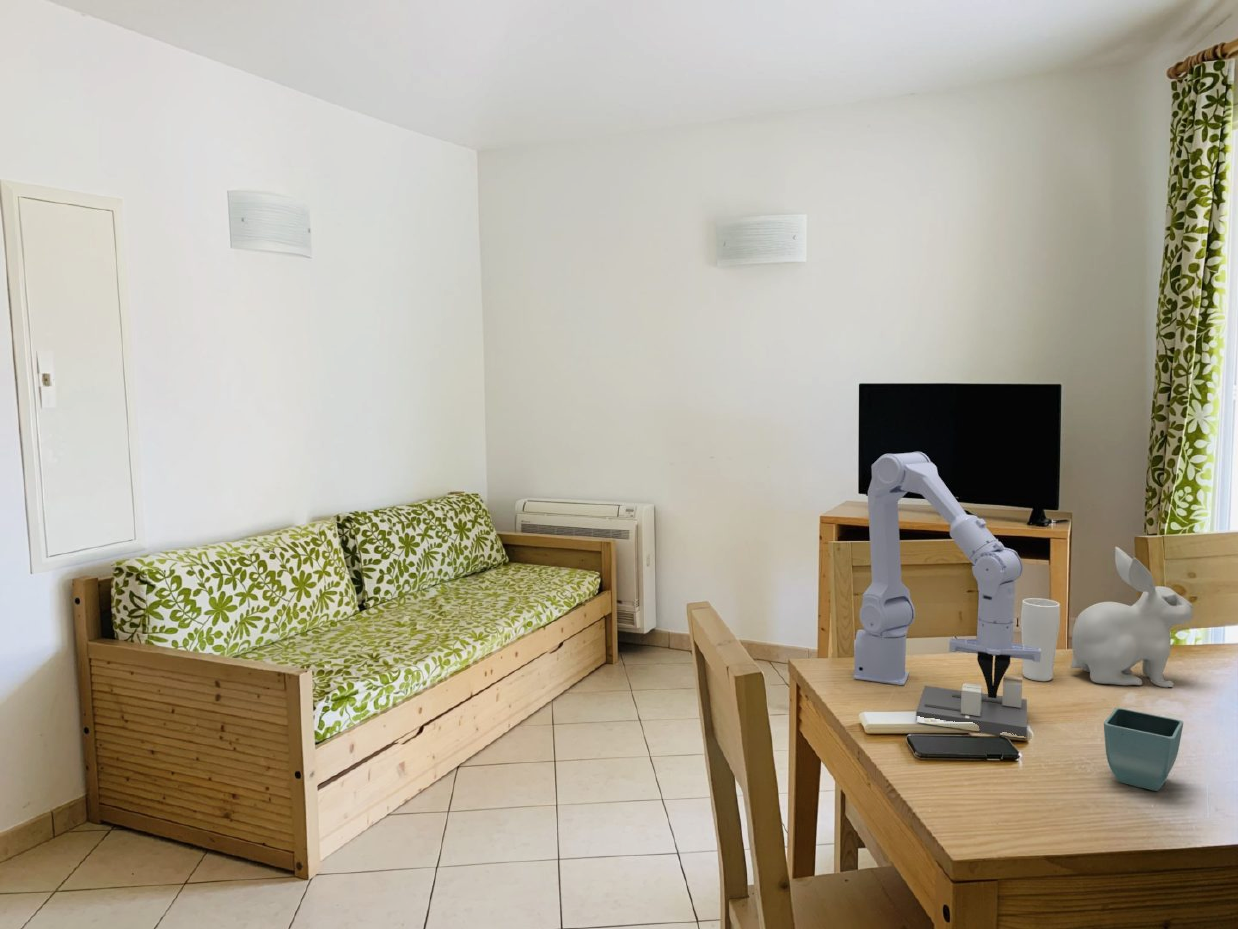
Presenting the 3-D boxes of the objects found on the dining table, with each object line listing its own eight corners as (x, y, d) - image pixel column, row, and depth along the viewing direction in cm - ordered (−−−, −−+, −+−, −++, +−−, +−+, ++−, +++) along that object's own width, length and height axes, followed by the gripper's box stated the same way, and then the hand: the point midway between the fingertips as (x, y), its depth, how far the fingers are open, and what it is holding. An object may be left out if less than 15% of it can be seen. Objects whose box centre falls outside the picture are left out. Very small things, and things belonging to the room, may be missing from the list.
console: (915, 723, 153) (916, 710, 152) (924, 696, 165) (924, 685, 165) (1026, 739, 146) (1026, 726, 145) (1026, 710, 158) (1026, 698, 158)
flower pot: (1112, 763, 137) (1115, 706, 136) (1180, 780, 131) (1184, 720, 130) (1099, 783, 130) (1102, 723, 129) (1170, 801, 124) (1174, 738, 123)
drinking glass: (1049, 672, 179) (1052, 598, 177) (1062, 684, 172) (1066, 607, 171) (1013, 671, 179) (1016, 597, 178) (1025, 683, 173) (1028, 606, 171)
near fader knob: (960, 713, 151) (961, 689, 150) (962, 705, 154) (963, 682, 154) (980, 716, 150) (981, 691, 149) (981, 708, 153) (982, 684, 153)
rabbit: (1199, 694, 167) (1208, 560, 164) (1077, 685, 171) (1084, 555, 169) (1176, 674, 178) (1184, 549, 175) (1063, 666, 183) (1069, 544, 180)
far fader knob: (1002, 705, 155) (1003, 681, 154) (1002, 697, 158) (1003, 674, 158) (1021, 707, 153) (1022, 684, 153) (1021, 700, 157) (1022, 677, 157)
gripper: (949, 620, 155) (946, 697, 156) (1042, 630, 149) (1038, 710, 151) (952, 611, 162) (949, 684, 163) (1041, 620, 156) (1038, 696, 157)
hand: (992, 696), depth 157 cm, fingers closed
